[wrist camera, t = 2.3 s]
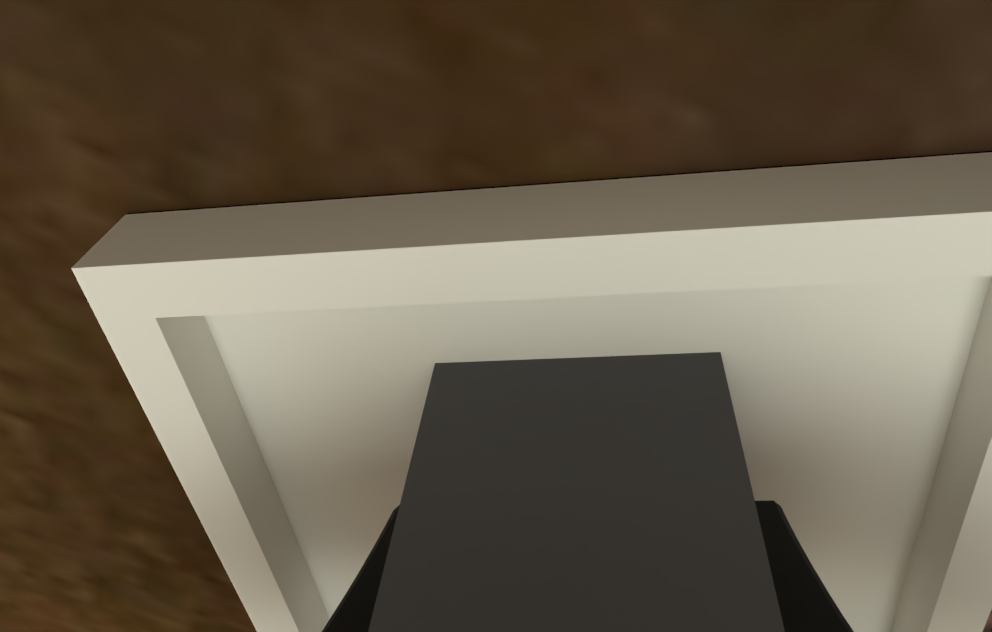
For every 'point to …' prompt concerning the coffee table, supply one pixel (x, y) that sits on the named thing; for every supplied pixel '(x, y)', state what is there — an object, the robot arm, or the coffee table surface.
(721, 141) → the coffee table surface
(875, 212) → the tray
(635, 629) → the plug
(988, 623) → the block
